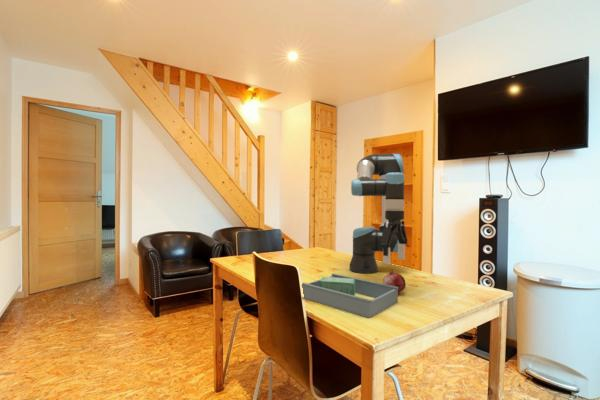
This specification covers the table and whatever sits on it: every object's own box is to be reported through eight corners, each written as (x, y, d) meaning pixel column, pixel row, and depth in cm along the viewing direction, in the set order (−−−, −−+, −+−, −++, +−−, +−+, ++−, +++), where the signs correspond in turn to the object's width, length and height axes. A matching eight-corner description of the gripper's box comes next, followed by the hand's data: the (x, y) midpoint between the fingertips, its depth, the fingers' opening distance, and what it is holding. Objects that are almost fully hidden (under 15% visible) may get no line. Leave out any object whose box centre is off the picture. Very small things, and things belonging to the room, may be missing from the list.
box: (354, 302, 119) (354, 282, 119) (319, 299, 122) (319, 280, 122) (355, 296, 126) (355, 277, 126) (322, 294, 129) (322, 276, 129)
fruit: (407, 291, 132) (407, 268, 132) (403, 298, 124) (403, 272, 123) (385, 288, 136) (385, 265, 136) (380, 294, 128) (380, 270, 128)
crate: (333, 286, 139) (333, 273, 139) (398, 302, 119) (398, 287, 119) (301, 297, 123) (301, 283, 123) (369, 318, 103) (369, 301, 103)
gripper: (399, 209, 141) (398, 256, 141) (371, 210, 123) (370, 264, 123) (415, 209, 136) (415, 258, 136) (389, 211, 118) (388, 267, 118)
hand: (394, 261), depth 129 cm, fingers open, 13 cm apart
